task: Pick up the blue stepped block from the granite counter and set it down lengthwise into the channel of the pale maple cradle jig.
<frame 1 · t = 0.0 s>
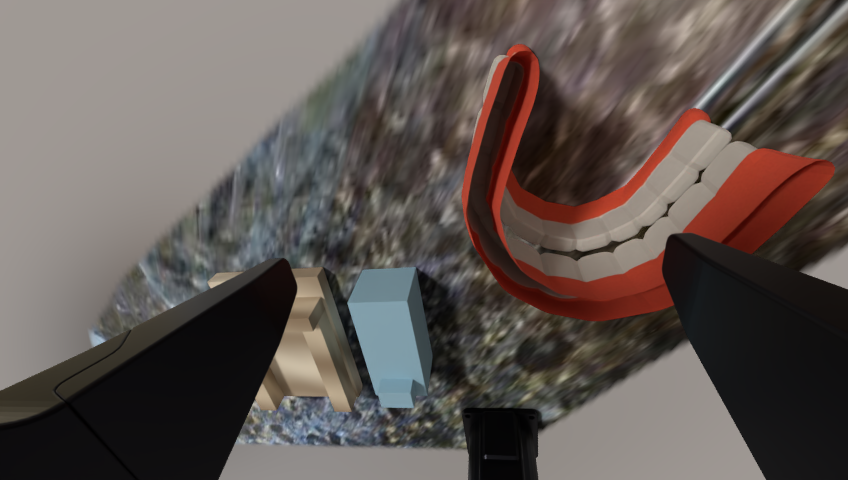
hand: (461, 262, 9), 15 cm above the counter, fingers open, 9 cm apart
toy: (563, 165, 23), on the counter
blue stepped block: (400, 314, 30), on the counter
jig: (294, 333, 32), on the counter
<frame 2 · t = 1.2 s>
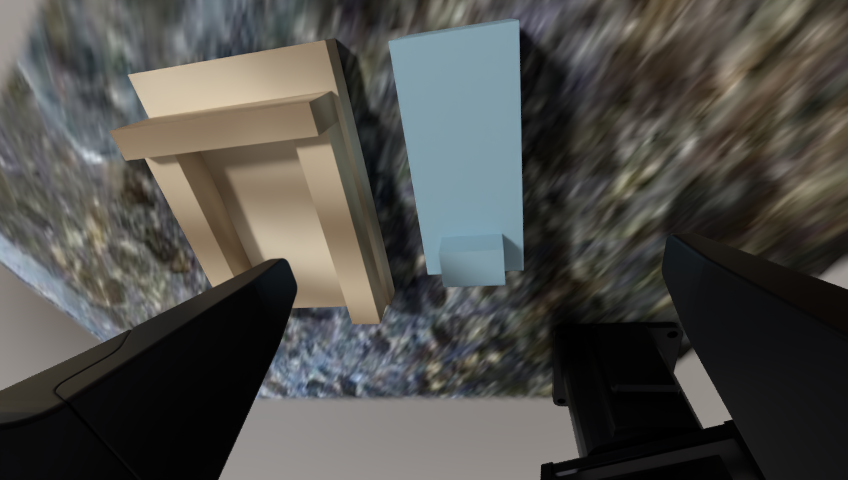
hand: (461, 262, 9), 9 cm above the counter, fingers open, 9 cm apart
blue stepped block: (468, 139, 17), on the counter
jig: (286, 194, 20), on the counter
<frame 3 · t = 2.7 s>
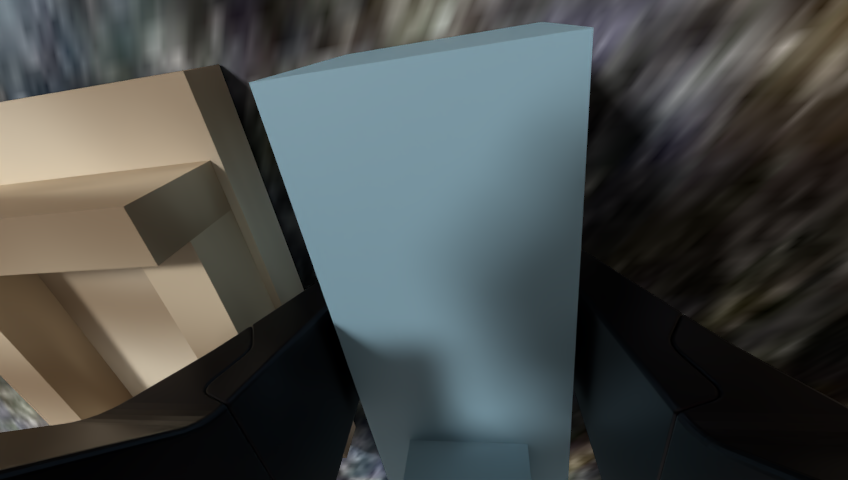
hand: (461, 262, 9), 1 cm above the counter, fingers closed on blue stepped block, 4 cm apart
blue stepped block: (462, 232, 10), on the counter, touching gripper
jig: (179, 299, 13), on the counter
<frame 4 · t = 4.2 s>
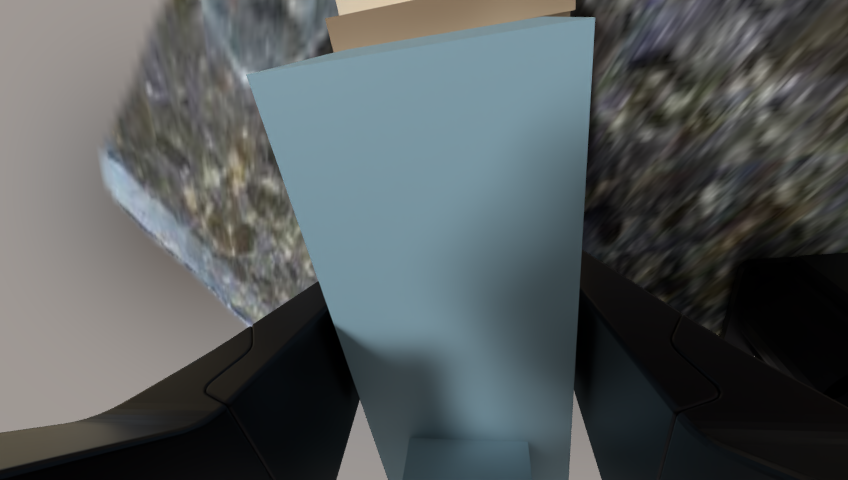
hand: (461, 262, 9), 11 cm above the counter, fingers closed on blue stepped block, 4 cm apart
blue stepped block: (462, 229, 10), point 10 cm above the counter, touching gripper
jig: (463, 113, 18), on the counter
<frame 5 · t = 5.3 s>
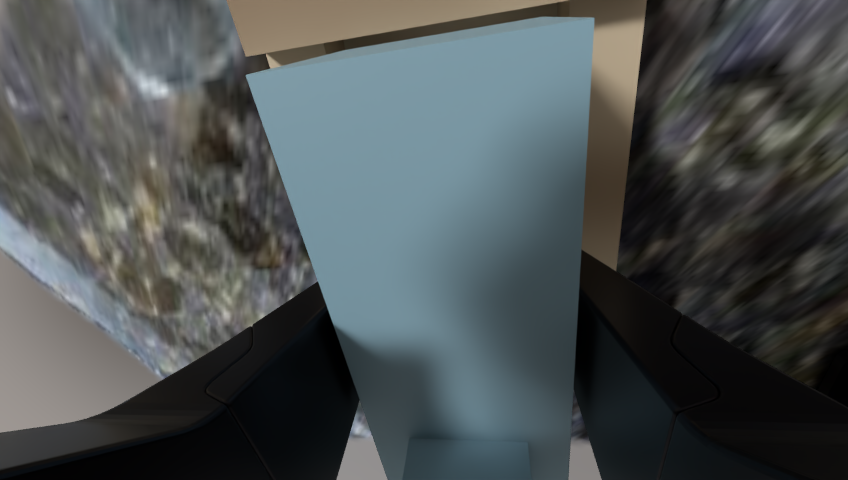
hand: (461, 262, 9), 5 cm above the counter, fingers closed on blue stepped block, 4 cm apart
blue stepped block: (462, 229, 10), point 4 cm above the counter, touching gripper
jig: (460, 143, 12), on the counter
when the fingers open (4 cm above the counter, at t = 5.9 s): blue stepped block drops 1 cm, resting on jig.
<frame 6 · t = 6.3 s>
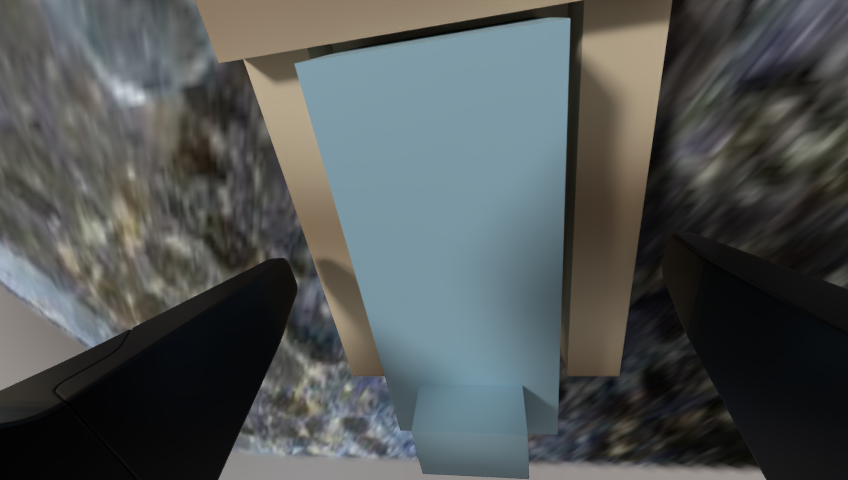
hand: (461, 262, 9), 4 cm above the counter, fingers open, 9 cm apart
blue stepped block: (464, 207, 11), point 1 cm above the counter, touching jig
jig: (460, 154, 12), on the counter
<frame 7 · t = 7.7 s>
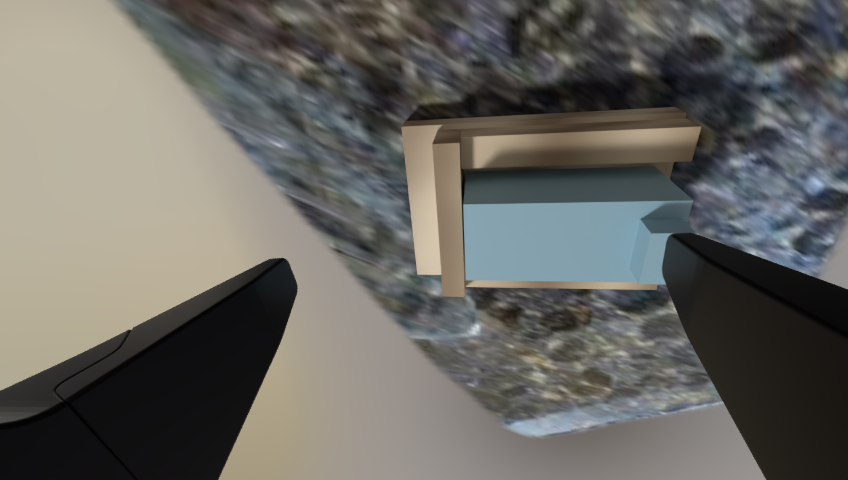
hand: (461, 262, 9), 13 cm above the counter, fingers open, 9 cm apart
blue stepped block: (553, 205, 20), point 1 cm above the counter, touching jig
jig: (528, 197, 21), on the counter
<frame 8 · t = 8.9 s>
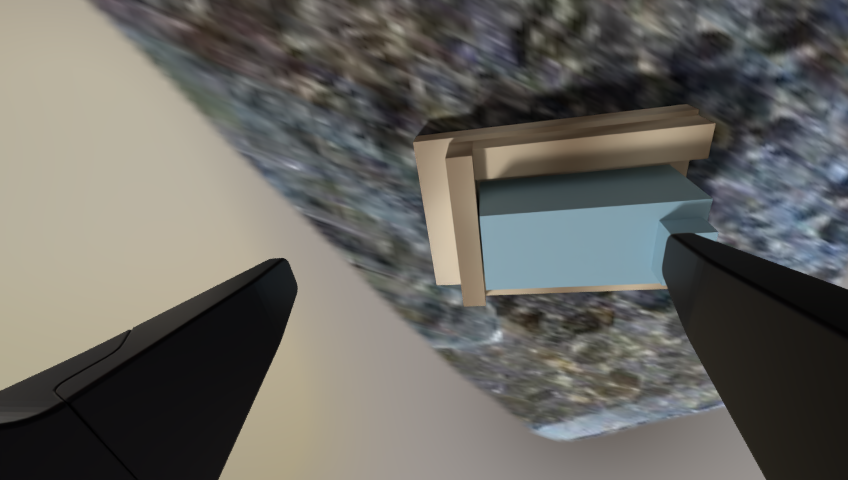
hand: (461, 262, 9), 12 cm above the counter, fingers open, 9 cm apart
blue stepped block: (569, 209, 20), point 1 cm above the counter, touching jig
jig: (543, 202, 21), on the counter
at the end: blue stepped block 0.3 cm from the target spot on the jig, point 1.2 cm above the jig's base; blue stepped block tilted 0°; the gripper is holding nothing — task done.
